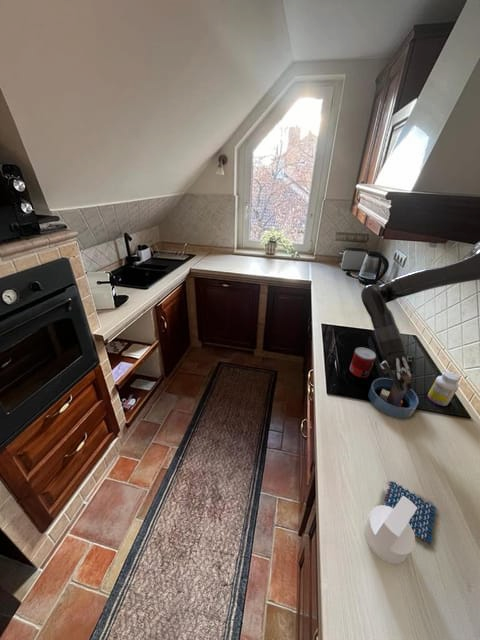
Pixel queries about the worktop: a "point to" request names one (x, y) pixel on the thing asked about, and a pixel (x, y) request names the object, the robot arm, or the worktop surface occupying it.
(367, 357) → the canned food
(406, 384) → the brown rectangular block
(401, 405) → the block
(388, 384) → the bowl
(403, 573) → the worktop surface
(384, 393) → the block
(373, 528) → the base with upright slab
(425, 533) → the woven mat
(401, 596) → the worktop surface
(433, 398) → the supplement bottle
